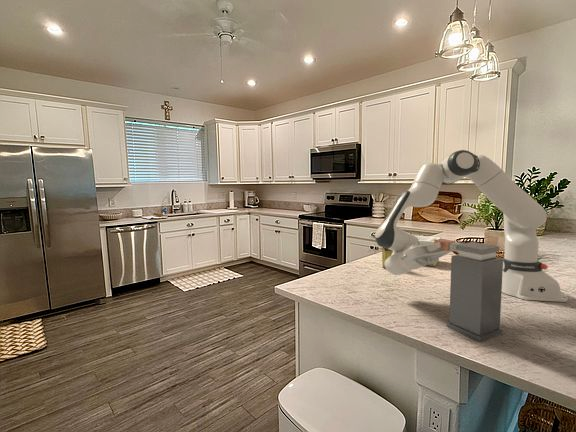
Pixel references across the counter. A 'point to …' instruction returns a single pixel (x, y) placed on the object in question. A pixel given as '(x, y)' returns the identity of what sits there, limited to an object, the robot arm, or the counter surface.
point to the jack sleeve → (476, 297)
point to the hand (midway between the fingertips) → (446, 243)
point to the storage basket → (425, 241)
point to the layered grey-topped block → (470, 249)
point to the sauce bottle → (385, 255)
